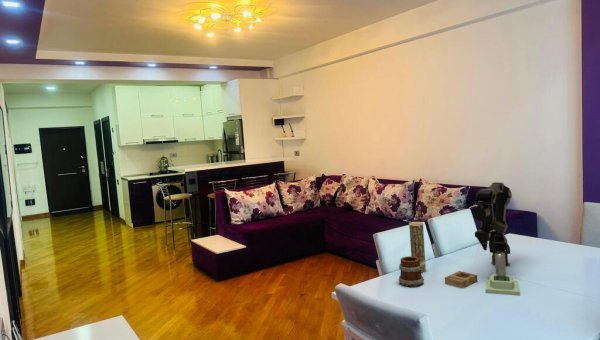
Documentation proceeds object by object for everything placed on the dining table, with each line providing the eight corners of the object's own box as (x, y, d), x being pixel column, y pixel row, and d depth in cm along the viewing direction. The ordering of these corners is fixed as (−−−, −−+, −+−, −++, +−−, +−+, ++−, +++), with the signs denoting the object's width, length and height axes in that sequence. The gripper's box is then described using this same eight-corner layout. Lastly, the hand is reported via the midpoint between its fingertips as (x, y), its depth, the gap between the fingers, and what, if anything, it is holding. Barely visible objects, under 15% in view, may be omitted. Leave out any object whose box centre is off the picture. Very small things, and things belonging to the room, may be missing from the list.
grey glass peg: (500, 282, 182) (498, 251, 181) (508, 284, 179) (506, 253, 178) (495, 285, 180) (492, 253, 179) (503, 287, 177) (501, 255, 176)
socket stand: (485, 282, 188) (485, 272, 188) (517, 284, 183) (517, 274, 182) (485, 292, 176) (485, 282, 176) (519, 295, 171) (519, 284, 171)
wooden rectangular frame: (459, 277, 197) (459, 270, 197) (477, 281, 190) (477, 275, 190) (445, 283, 190) (444, 277, 190) (462, 288, 183) (462, 282, 183)
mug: (393, 284, 193) (393, 253, 194) (406, 280, 204) (407, 250, 205) (416, 289, 186) (416, 256, 187) (429, 284, 196) (429, 253, 197)
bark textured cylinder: (426, 273, 206) (423, 224, 204) (412, 273, 208) (409, 224, 206) (425, 268, 213) (422, 221, 211) (411, 268, 214) (408, 222, 212)
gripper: (498, 221, 183) (500, 255, 184) (510, 213, 197) (512, 245, 198) (473, 219, 191) (475, 252, 192) (486, 211, 204) (488, 242, 206)
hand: (488, 247), depth 197 cm, fingers open, 9 cm apart
